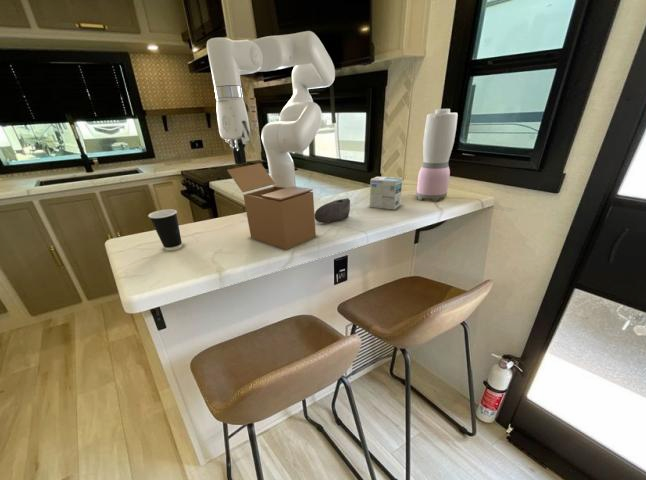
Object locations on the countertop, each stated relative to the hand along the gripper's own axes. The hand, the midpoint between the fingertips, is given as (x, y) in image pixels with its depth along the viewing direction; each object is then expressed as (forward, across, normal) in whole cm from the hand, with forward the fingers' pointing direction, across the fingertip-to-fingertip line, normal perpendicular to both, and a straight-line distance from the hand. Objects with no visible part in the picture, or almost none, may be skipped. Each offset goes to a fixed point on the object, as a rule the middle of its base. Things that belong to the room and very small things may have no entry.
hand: (241, 163), depth 98 cm
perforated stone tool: (+21, +19, +22) cm, 36 cm away
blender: (+21, +34, +70) cm, 81 cm away
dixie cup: (+22, -7, -26) cm, 34 cm away
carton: (+21, +16, 0) cm, 27 cm away
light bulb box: (+21, +25, +47) cm, 58 cm away
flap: (+4, +5, 0) cm, 6 cm away
